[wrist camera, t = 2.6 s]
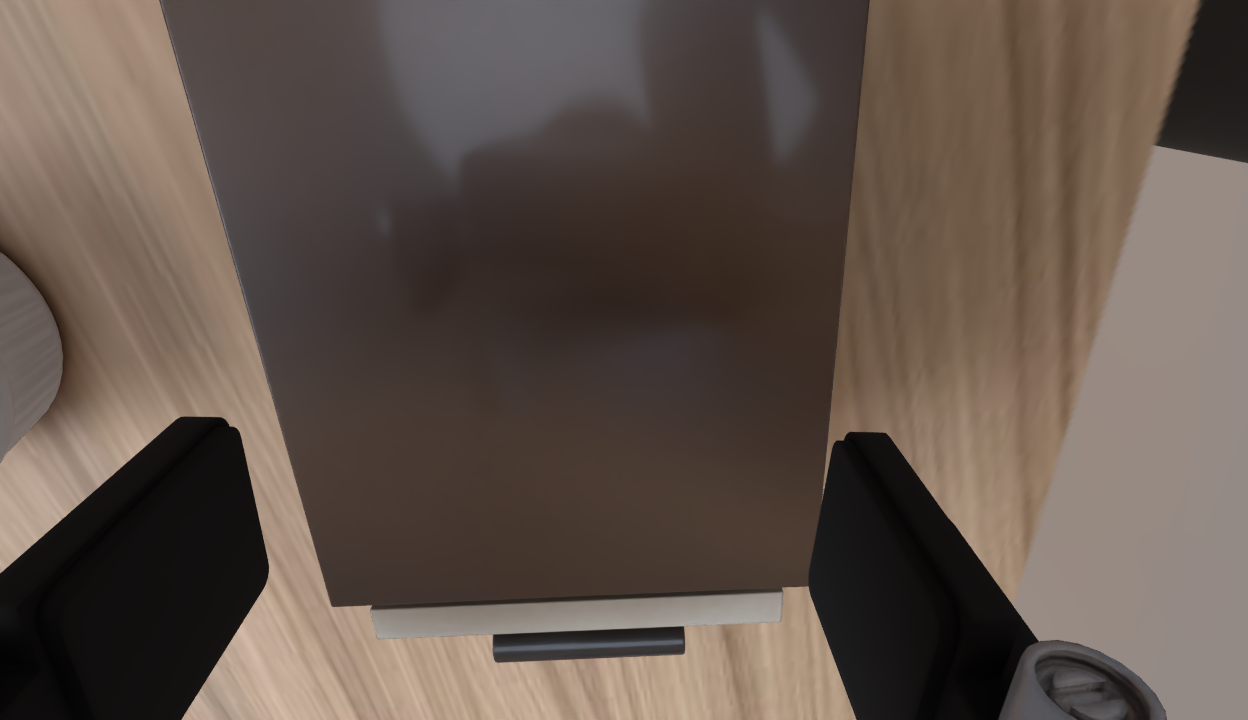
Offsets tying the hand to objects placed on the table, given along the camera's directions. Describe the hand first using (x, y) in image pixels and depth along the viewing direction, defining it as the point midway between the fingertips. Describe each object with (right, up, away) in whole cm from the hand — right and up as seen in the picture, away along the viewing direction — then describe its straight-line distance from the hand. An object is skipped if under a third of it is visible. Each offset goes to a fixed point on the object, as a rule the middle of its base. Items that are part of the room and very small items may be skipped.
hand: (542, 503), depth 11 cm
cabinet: (-1, +7, +15) cm, 16 cm away
